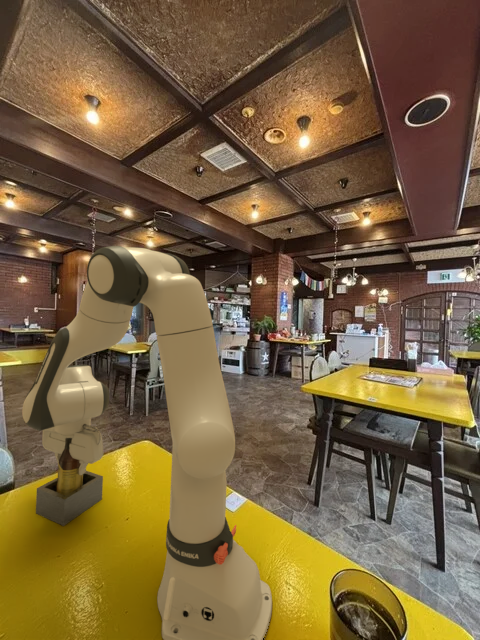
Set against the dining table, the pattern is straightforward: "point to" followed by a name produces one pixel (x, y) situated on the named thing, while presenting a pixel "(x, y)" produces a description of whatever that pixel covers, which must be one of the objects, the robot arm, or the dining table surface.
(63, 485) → the sauce bottle
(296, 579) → the dining table surface
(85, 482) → the condiment sleeve
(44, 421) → the robot arm
